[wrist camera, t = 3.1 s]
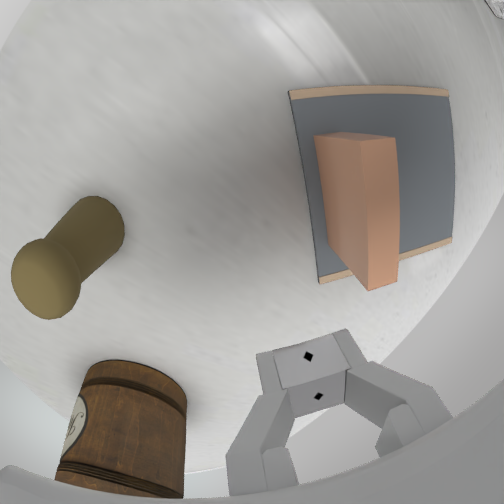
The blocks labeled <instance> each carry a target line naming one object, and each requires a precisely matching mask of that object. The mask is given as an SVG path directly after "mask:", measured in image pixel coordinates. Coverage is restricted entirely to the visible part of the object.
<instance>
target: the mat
mask: <svg viewBox="0 0 504 504" xmlns="http://www.w3.org/2000/svg"><path fill="white" fill-rule="evenodd" d="M288 94H289V99H290V103H291V108H292V113H293V118H294V123H295V128H296V133H297V138H298V143H299V149H300V154H301V160H302V165H303V171H304V177H305V183H306V190H307V196H308V203H309V210H310V217H311V224H312V231H313V239H314V247H315V256H316V265H317V274H318V282H319V284H323V283H327V282H331V281H334V280H338V279H341V278H344V277H348V276H351V275H354V274H353V273H352V272H351V270H350V269H349V268H348V267H347V266H346V265H345V263H344V262H343V261H342V260H341V259H340V258H339V256H338V255H337V254H336V253H335V252H334V251H333V250H332V248H331V247H330V246H329V245H328V237H327V227H326V218H325V210H324V202H323V194H322V187H321V180H320V173H319V167H318V160H317V154H316V148H315V142H314V137H313V135H320V134H327V133H335V132H350V133H361V134H371V135H379V136H387V137H394V138H395V140H396V150H397V161H398V175H399V198H400V239H399V261H400V260H403V259H406V258H409V257H412V256H415V255H418V254H421V253H424V252H427V251H430V250H433V249H436V248H438V247H441V246H444V245H447V244H450V243H452V229H453V216H454V197H455V158H454V139H453V127H452V118H451V109H450V102H449V92H448V90H446V89H438V88H428V87H415V86H396V85H353V86H332V87H319V88H308V89H299V90H291V91H288Z"/></svg>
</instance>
